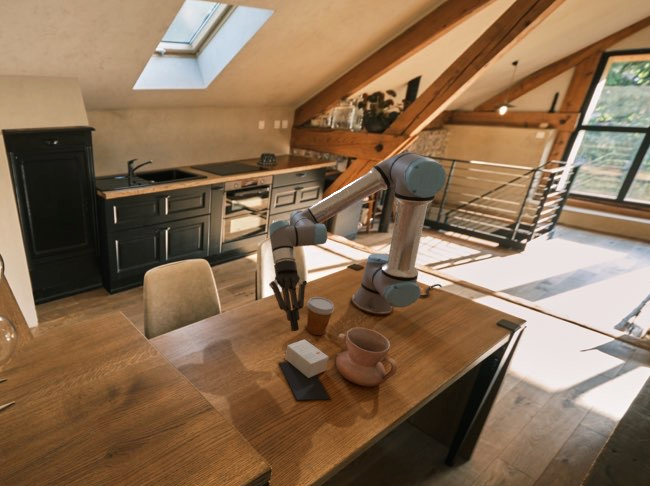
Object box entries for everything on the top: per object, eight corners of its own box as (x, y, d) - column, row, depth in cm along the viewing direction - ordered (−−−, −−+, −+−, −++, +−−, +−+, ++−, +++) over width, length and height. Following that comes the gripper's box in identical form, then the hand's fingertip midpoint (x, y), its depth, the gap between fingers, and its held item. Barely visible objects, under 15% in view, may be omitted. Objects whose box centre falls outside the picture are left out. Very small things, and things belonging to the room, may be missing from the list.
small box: (284, 358, 128) (307, 378, 119) (287, 344, 126) (311, 364, 117) (302, 352, 131) (326, 371, 123) (304, 338, 129) (329, 357, 121)
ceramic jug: (321, 369, 124) (330, 333, 118) (344, 352, 132) (353, 317, 127) (377, 404, 111) (389, 365, 105) (398, 382, 119) (411, 345, 114)
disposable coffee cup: (325, 324, 148) (331, 297, 143) (331, 339, 139) (338, 311, 134) (300, 322, 148) (305, 295, 144) (305, 336, 140) (310, 309, 135)
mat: (279, 363, 126) (279, 362, 126) (308, 362, 127) (308, 361, 127) (297, 400, 111) (297, 399, 111) (329, 399, 112) (330, 398, 112)
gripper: (298, 266, 139) (309, 331, 130) (263, 266, 138) (272, 332, 129) (306, 259, 132) (319, 327, 123) (270, 259, 131) (279, 329, 122)
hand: (295, 330), depth 126 cm, fingers closed
